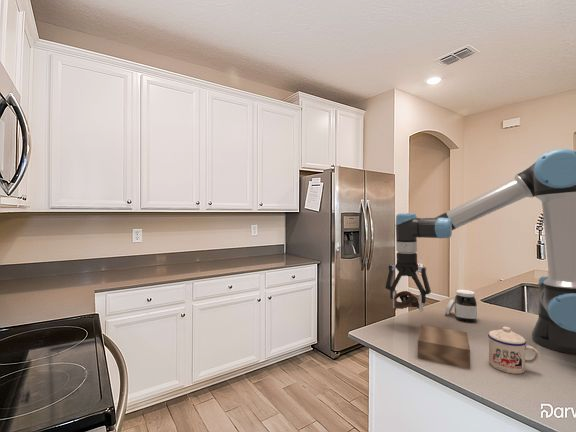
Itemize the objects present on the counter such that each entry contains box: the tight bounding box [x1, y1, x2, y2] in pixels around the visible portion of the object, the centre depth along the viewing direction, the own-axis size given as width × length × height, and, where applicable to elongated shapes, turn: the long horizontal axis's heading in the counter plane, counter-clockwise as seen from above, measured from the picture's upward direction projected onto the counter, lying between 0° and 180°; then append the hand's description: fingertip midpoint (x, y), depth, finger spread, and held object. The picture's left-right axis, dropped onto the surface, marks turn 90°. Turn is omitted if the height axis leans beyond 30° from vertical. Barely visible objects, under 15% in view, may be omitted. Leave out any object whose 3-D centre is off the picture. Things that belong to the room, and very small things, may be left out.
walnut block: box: [417, 324, 471, 370], centre depth 96 cm, size 14×14×6 cm
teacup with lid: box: [487, 326, 540, 375], centre depth 87 cm, size 12×9×12 cm
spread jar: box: [444, 289, 478, 323], centre depth 128 cm, size 12×11×12 cm
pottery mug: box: [393, 290, 419, 311], centre depth 117 cm, size 12×10×8 cm
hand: (407, 309), depth 116 cm, fingers closed on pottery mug, 9 cm apart
